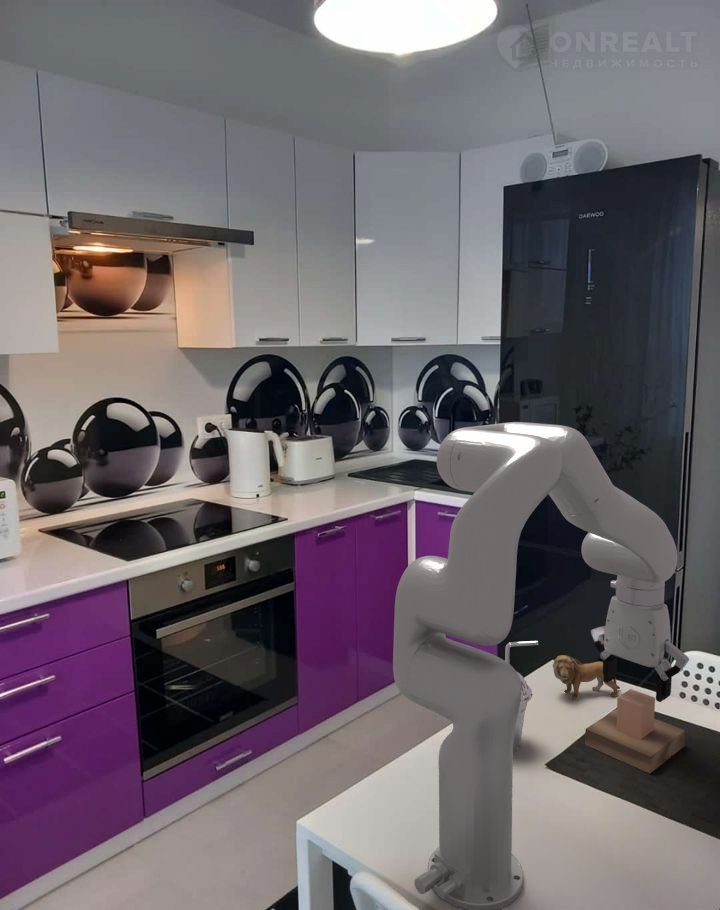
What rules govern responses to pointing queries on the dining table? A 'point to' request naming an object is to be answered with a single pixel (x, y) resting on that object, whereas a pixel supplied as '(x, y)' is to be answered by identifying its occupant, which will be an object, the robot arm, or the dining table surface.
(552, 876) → the dining table surface
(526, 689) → the cup with straw
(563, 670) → the lion figurine
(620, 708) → the terracotta block
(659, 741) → the walnut base
